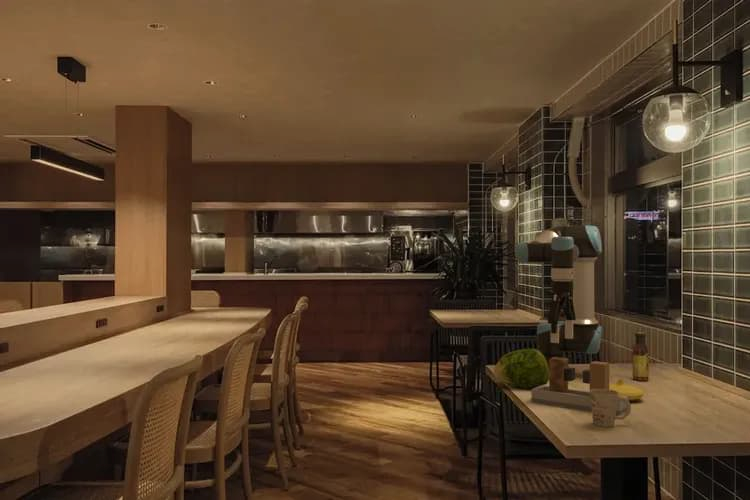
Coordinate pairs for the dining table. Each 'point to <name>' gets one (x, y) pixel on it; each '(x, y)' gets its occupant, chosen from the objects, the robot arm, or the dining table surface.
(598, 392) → the mug
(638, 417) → the dining table surface
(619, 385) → the yellow curved piece
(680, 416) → the dining table surface
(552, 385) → the brown tall block
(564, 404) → the brown blocky pieces
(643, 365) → the sauce bottle
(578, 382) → the dining table surface
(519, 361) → the lettuce
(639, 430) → the dining table surface
